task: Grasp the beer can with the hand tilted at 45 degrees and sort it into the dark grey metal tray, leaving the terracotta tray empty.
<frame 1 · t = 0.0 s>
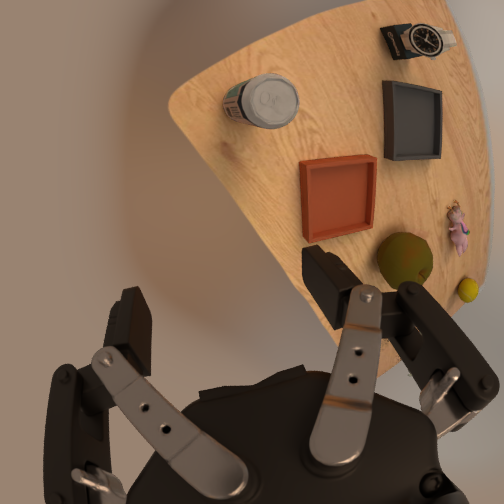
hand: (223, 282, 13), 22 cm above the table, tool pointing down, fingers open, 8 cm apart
apple: (388, 246, 46), on the table
beer can: (242, 103, 28), on the table
grey tray: (410, 120, 34), on the table
terracotta tray: (336, 194, 37), on the table
tennis ball: (460, 283, 62), on the table
watch: (394, 42, 27), on the table
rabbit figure: (452, 226, 49), on the table
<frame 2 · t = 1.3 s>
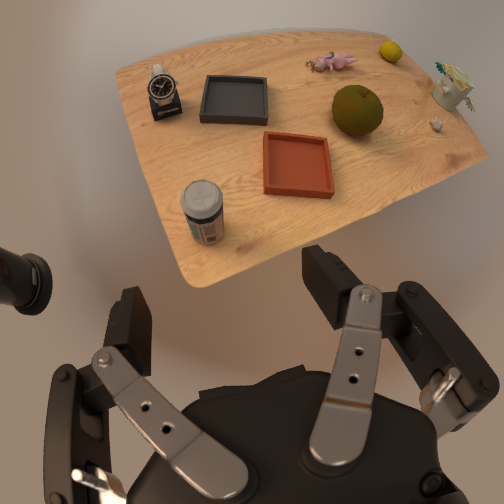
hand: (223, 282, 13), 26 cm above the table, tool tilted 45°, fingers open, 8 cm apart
apple: (347, 126, 48), on the table
beer can: (207, 230, 40), on the table
grey tray: (234, 101, 47), on the table
terracotta tray: (295, 167, 44), on the table
tennis ball: (386, 59, 59), on the table
character sculpture: (440, 100, 57), on the table
watch: (167, 110, 46), on the table
game die: (433, 127, 53), on the table
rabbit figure: (330, 67, 54), on the table
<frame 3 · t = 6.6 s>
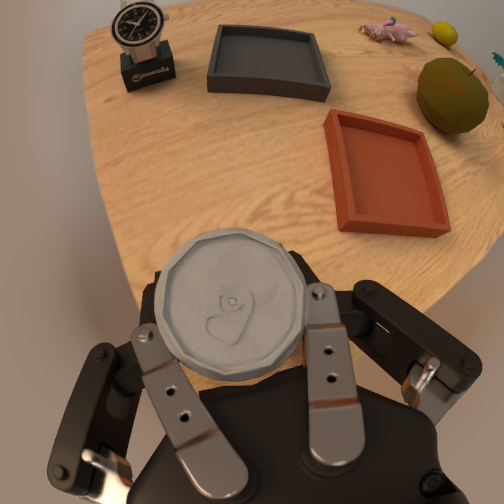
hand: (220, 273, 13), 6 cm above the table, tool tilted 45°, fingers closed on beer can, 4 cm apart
apple: (432, 117, 27), on the table
beer can: (229, 313, 19), on the table, touching gripper
grey tray: (266, 63, 26), on the table
terracotta tray: (384, 178, 23), on the table
tennis ball: (438, 42, 38), on the table
character sculpture: (499, 98, 36), on the table
watch: (150, 75, 24), on the table
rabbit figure: (388, 39, 32), on the table
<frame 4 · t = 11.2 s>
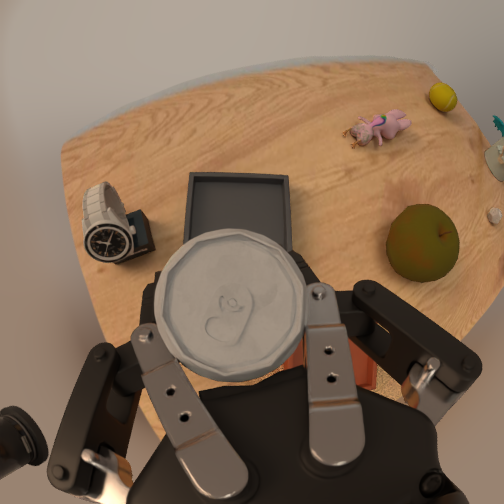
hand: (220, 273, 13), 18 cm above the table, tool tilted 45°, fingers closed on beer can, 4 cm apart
apple: (401, 253, 34), on the table
beer can: (229, 313, 19), point 12 cm above the table, touching gripper
grey tray: (237, 225, 33), on the table
terracotta tray: (328, 348, 30), on the table
tennis ball: (435, 106, 45), on the table
character sculpture: (492, 166, 43), on the table
watch: (132, 242, 31), on the table
game die: (489, 218, 39), on the table
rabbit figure: (376, 133, 39), on the table
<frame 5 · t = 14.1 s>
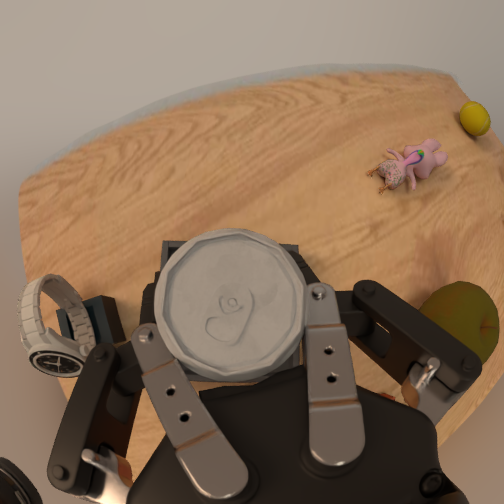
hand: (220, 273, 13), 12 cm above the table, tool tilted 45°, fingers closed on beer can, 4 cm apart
apple: (427, 330, 26), on the table
beer can: (229, 313, 19), point 6 cm above the table, touching gripper
grey tray: (228, 313, 25), on the table
tennis ball: (465, 127, 37), on the table
watch: (98, 326, 23), on the table
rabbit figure: (406, 170, 31), on the table
when the fingers open (7 cm above the table, at t = 16.0 s): beer can stays where it is, resting on grey tray.
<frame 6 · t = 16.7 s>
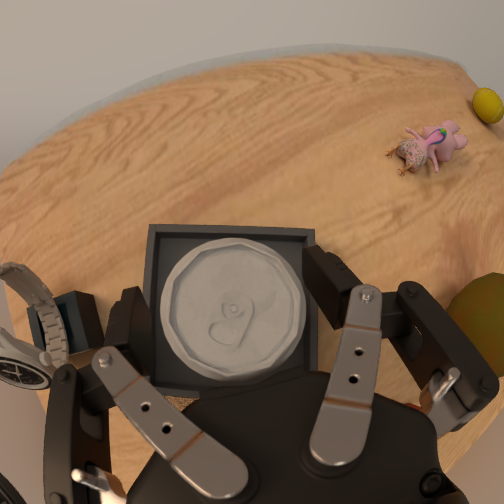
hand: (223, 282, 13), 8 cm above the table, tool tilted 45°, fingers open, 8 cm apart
apple: (455, 330, 21), on the table
beer can: (230, 315, 19), point 1 cm above the table, touching grey tray
grey tray: (229, 313, 20), on the table
tennis ball: (478, 115, 32), on the table
watch: (76, 328, 19), on the table
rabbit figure: (425, 152, 26), on the table
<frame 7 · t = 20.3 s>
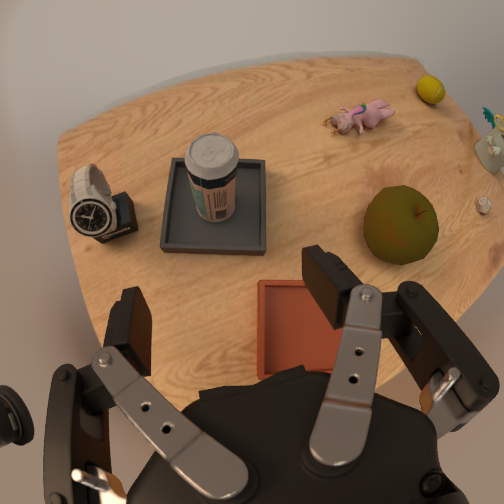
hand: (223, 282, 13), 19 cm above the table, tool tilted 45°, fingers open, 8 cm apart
apple: (380, 237, 35), on the table
beer can: (215, 206, 34), point 1 cm above the table, touching grey tray
grey tray: (215, 207, 34), on the table
terracotta tray: (303, 329, 31), on the table
tennis ball: (423, 98, 46), on the table
character sculpture: (483, 158, 44), on the table
watch: (117, 223, 33), on the table
game die: (478, 208, 40), on the table
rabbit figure: (358, 123, 41), on the table
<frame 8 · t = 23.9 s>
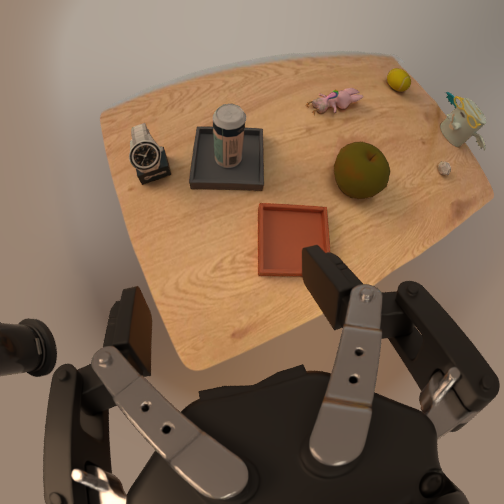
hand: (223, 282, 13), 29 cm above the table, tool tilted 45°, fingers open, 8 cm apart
apple: (350, 184, 48), on the table
beer can: (228, 158, 46), point 1 cm above the table, touching grey tray
grey tray: (227, 160, 47), on the table
terracotta tray: (292, 242, 44), on the table
tennis ball: (393, 87, 59), on the table
character sculpture: (448, 135, 57), on the table
watch: (155, 171, 45), on the table
game die: (440, 171, 52), on the table
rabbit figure: (334, 106, 53), on the table
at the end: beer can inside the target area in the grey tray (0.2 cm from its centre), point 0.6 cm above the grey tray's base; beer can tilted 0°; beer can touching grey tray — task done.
